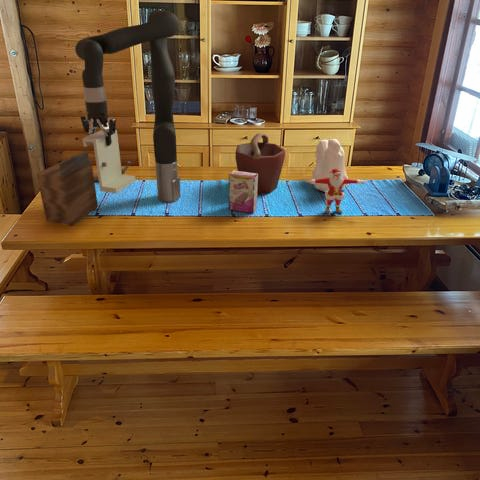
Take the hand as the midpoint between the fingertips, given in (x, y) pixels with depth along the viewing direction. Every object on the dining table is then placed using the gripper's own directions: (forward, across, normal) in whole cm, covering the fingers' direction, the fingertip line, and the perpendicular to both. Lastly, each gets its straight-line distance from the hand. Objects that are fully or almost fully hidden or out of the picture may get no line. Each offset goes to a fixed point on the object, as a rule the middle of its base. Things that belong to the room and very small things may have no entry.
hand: (101, 144), depth 181 cm
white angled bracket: (+16, -3, 0) cm, 16 cm away
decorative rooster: (+31, -78, -64) cm, 105 cm away
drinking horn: (+30, +25, -32) cm, 51 cm away
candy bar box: (+31, -48, -25) cm, 63 cm away
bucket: (+31, -47, -51) cm, 75 cm away
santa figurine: (+31, -84, -37) cm, 97 cm away
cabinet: (+30, +16, +4) cm, 34 cm away
